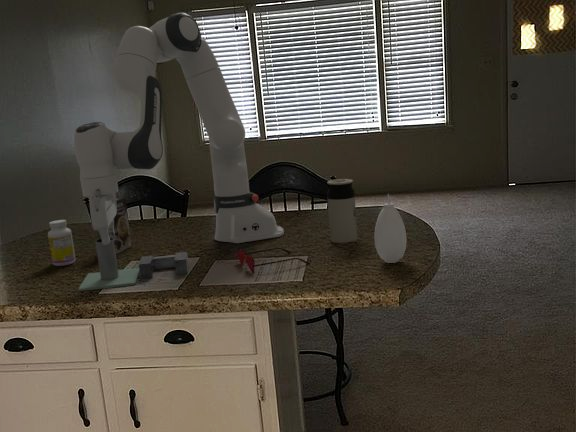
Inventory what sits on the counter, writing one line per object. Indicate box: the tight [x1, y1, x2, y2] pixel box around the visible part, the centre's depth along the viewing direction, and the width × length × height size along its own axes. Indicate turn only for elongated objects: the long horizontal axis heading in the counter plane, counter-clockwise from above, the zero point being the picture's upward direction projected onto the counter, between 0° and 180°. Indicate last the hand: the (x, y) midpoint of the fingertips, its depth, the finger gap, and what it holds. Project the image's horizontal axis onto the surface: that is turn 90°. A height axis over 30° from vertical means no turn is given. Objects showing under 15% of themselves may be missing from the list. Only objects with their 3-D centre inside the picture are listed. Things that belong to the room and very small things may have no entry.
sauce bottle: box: [373, 193, 407, 264], centre depth 155 cm, size 8×8×18 cm
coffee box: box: [97, 197, 132, 254], centre depth 193 cm, size 9×6×16 cm
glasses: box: [234, 247, 311, 274], centre depth 165 cm, size 14×16×5 cm
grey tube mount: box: [138, 251, 189, 280], centre depth 165 cm, size 12×10×4 cm
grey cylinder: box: [95, 238, 119, 280], centre depth 161 cm, size 4×4×10 cm
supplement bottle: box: [47, 219, 77, 267], centre depth 182 cm, size 7×7×13 cm
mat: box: [77, 267, 140, 292], centre depth 162 cm, size 14×14×1 cm
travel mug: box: [326, 178, 358, 244], centre depth 181 cm, size 8×8×18 cm
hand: (108, 239), depth 159 cm, fingers open, 8 cm apart
